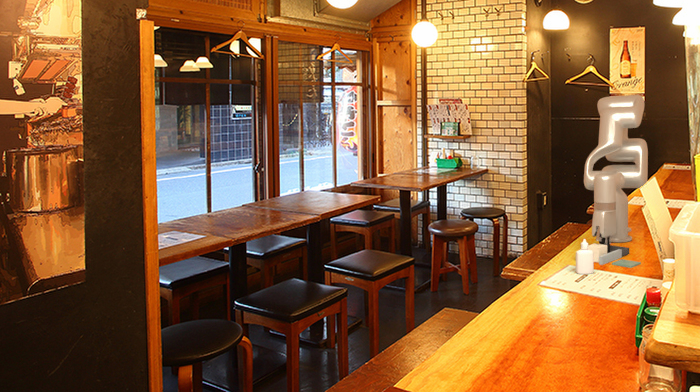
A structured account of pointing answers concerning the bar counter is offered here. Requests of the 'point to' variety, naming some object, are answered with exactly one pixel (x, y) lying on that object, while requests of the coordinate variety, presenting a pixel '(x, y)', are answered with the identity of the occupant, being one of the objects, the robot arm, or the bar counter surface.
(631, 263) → the green coaster
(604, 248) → the cream block
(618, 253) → the channel
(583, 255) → the eye dropper bottle
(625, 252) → the tray
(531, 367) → the bar counter surface
